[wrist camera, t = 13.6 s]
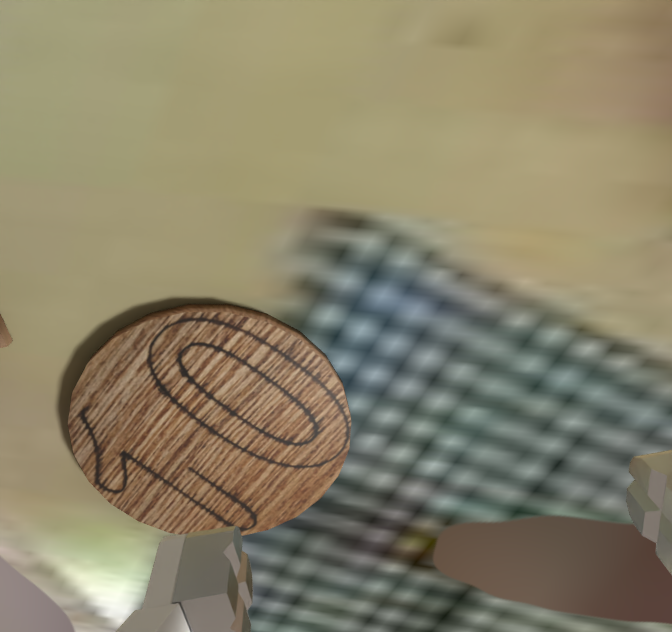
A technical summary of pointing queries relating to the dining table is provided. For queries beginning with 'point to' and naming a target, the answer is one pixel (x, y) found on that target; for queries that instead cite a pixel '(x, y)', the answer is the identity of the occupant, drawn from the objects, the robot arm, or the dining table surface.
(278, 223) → the dining table surface
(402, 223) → the dining table surface
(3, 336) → the cabinet base
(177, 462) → the trivet
